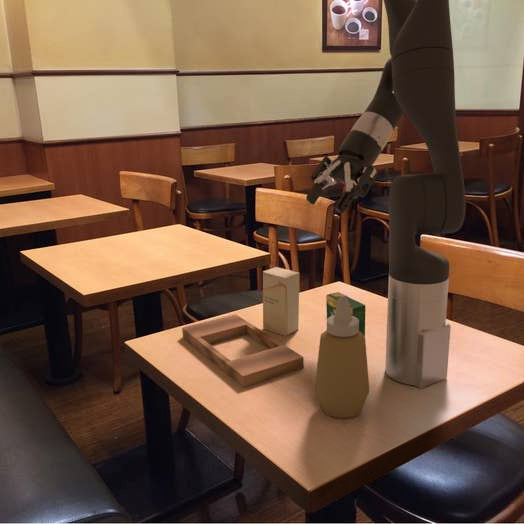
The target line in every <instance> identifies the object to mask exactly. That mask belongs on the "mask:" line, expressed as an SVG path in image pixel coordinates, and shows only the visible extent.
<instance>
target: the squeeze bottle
mask: <svg viewBox="0 0 524 524" xmlns="http://www.w3.org/2000/svg"><path fill="white" fill-rule="evenodd" d="M348 297H349V296H347V294H344V295H340V296H339V299H338V303H337V307H336V311H335V315H333V316H330V317H329V318H328V319H327V318H326V330H325V331H323V332H322V333H321V334H320V337H319V338H320V339H319V345H318V347H319V348H318V354H317V355H318V356H317V364H316V372H315V373H316V375H315V383H314V390H315V393H316V396H317V398H318V400H319V404H320V406H321V408H322V410H323V412H324V413H325V414H327V415H328V416H330V417H333V418H336V419H337V418H339V419H347V418H349V419H350V418H353V417H356V416H357V415H359V414H360V413H361V412H362V409H363V407H364V405H365V402H366V400H367V397H368V395H369V392H370V382H369V381H370V379H369V369H368V366H369V365H368V358H367V356H368V355H367V346H366V335H365V336H364V335H363V334H362V333H361V332H360V331H359V320H358V319H357V318H356V317H354V316H351V311H350V306H349V302H348Z"/></svg>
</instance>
